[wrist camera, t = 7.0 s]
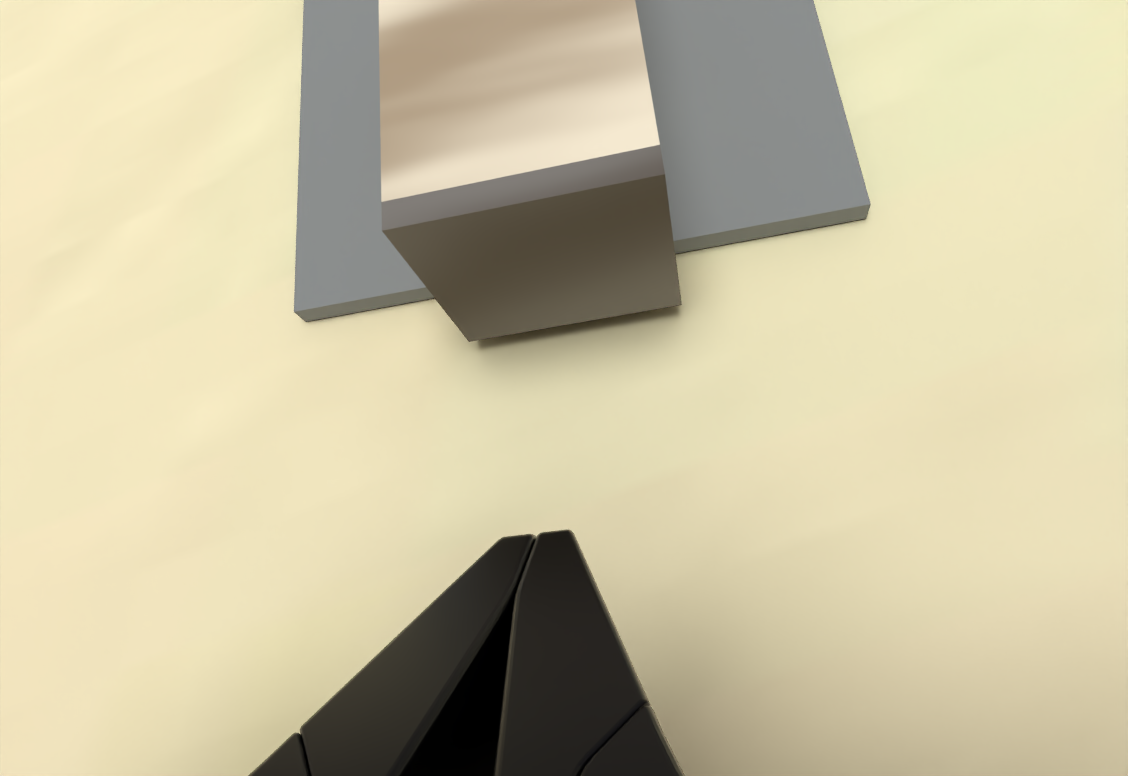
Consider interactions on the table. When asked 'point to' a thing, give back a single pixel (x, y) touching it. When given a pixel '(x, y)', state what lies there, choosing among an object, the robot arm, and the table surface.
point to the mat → (684, 123)
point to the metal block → (524, 161)
